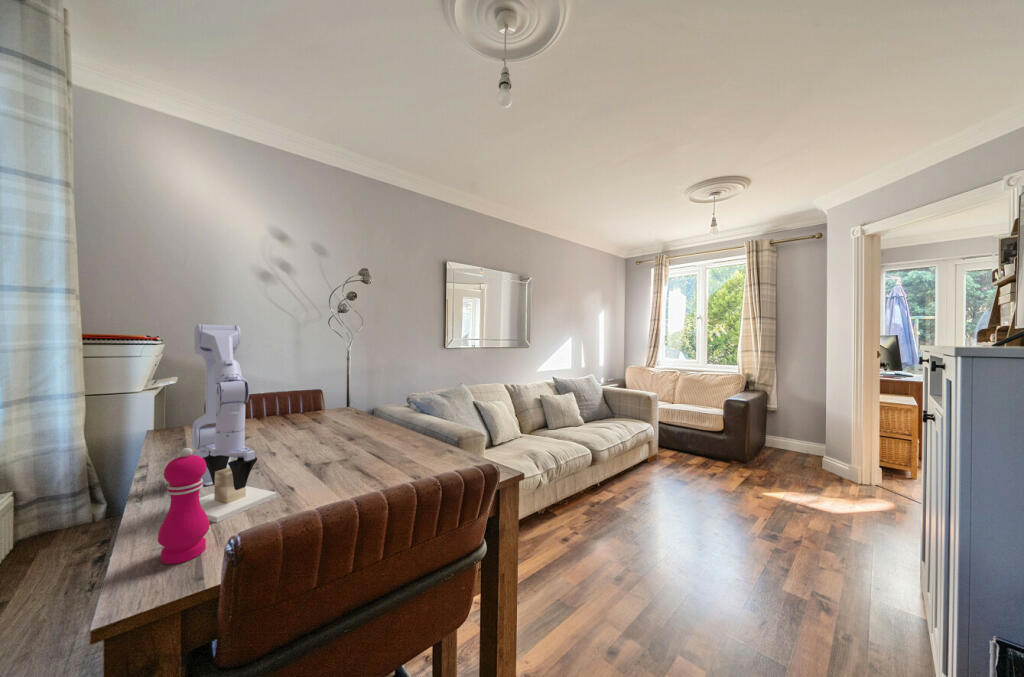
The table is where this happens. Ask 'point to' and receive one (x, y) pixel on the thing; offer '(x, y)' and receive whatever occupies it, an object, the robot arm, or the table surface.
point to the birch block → (226, 487)
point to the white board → (234, 504)
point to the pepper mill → (184, 510)
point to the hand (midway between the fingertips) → (229, 486)
